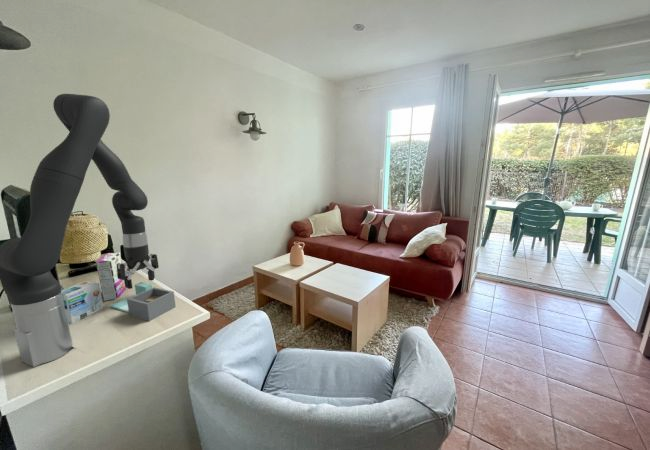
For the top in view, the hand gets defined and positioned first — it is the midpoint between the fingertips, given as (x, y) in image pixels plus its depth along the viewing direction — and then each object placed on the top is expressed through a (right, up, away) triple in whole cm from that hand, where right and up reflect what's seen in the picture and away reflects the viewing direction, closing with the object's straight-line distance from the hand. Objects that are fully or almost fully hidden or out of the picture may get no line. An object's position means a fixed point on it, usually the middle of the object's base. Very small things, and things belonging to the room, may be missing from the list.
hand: (140, 284), depth 102 cm
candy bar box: (-15, -6, +6) cm, 17 cm away
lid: (-1, -8, -3) cm, 8 cm away
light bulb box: (-14, -9, -10) cm, 19 cm away
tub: (+10, -9, -8) cm, 15 cm away
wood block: (+9, -7, -5) cm, 13 cm away
